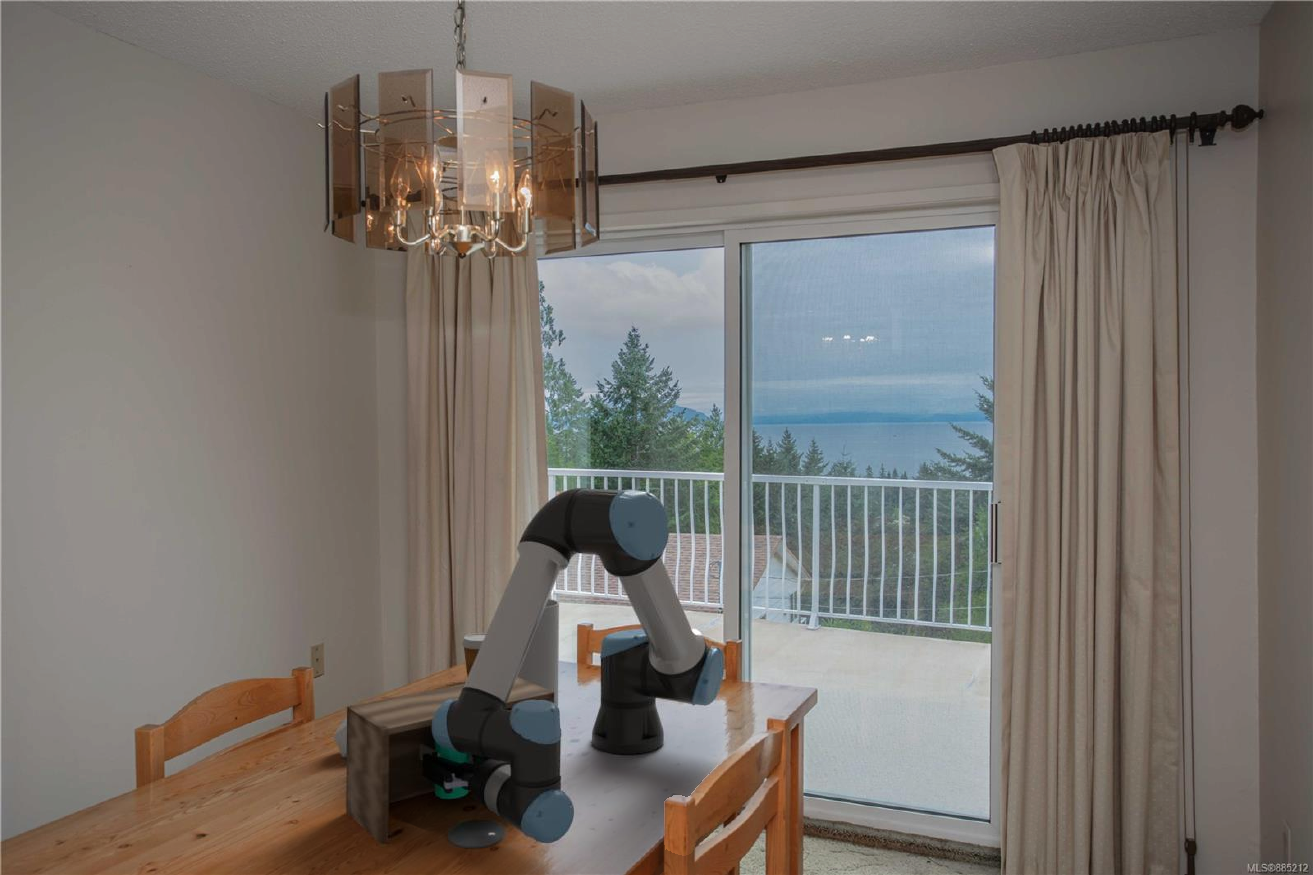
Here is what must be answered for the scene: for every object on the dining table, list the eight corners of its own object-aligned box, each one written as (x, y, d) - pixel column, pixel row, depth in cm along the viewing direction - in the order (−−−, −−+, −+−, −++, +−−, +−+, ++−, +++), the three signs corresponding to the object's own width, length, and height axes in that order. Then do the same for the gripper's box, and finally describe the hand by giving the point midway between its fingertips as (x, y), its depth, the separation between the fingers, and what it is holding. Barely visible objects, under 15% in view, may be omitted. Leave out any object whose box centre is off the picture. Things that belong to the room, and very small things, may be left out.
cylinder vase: (568, 707, 206) (569, 601, 206) (534, 721, 196) (535, 610, 195) (528, 698, 213) (529, 596, 213) (493, 712, 202) (493, 604, 202)
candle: (437, 785, 156) (438, 718, 156) (471, 784, 157) (471, 718, 157) (431, 799, 150) (431, 730, 150) (466, 798, 151) (467, 729, 151)
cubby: (346, 812, 148) (346, 706, 148) (510, 767, 169) (511, 674, 169) (381, 844, 136) (382, 729, 136) (553, 792, 157) (554, 692, 157)
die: (353, 769, 168) (384, 725, 171) (318, 744, 170) (349, 701, 173) (365, 769, 176) (395, 727, 179) (332, 745, 178) (362, 704, 181)
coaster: (511, 824, 144) (511, 820, 144) (496, 849, 135) (496, 846, 135) (458, 821, 145) (458, 818, 145) (440, 847, 136) (440, 843, 136)
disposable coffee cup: (455, 687, 222) (456, 640, 222) (469, 677, 231) (470, 632, 231) (491, 689, 220) (491, 642, 220) (504, 679, 229) (504, 633, 229)
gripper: (450, 827, 134) (388, 780, 151) (551, 795, 146) (482, 755, 163) (450, 779, 134) (388, 737, 151) (551, 751, 145) (482, 715, 163)
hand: (437, 747), depth 157 cm, fingers closed on candle, 5 cm apart
